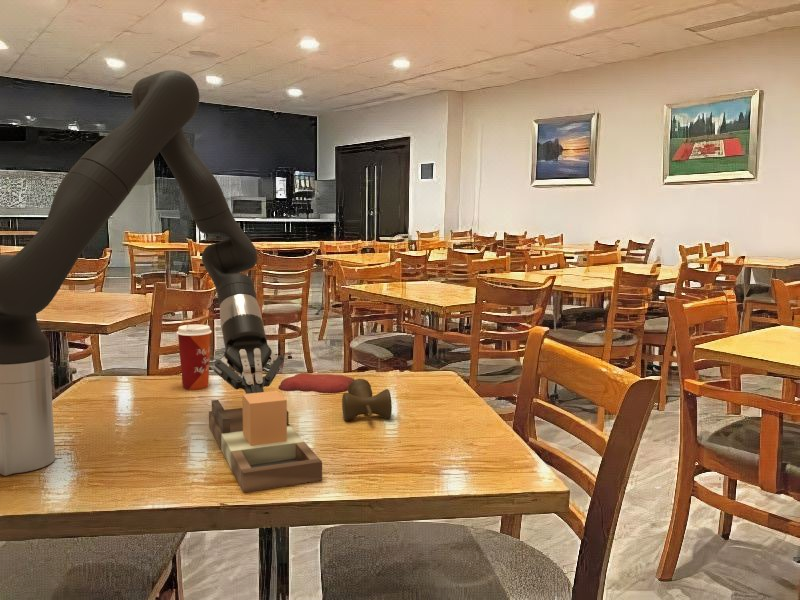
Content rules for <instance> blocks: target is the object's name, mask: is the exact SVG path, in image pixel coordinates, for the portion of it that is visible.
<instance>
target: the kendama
mask: <svg viewBox="0 0 800 600" xmlns="http://www.w3.org/2000/svg"><path fill="white" fill-rule="evenodd" d="M354 379H355V378H354ZM341 401H342V402H341V407H342V408H341V409H342V417H343V420H344V421H345V422H348V421H350V420H353V419H355V418H357V417H358V416H361V415H369V416H371V415H373V414H374V415H377V416H379V417H382V418H384V419H386V420H390V419H391V417H392V412H393V406H392V405H393V404H392V395H391V392H390V390H389V389H388V388H386V389H385V388H384V390H381V391H380V392H379V393H376V395H373V391H372V385H371V384H370V382H369V381H368V380H366V379H365V378H356V379H355V380H353V381H352V382H351V383H350V384H349V386H348V391H347V392H343V394H342V399H341Z"/></svg>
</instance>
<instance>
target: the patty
mask: <svg viewBox="0 0 800 600" xmlns="http://www.w3.org/2000/svg"><path fill="white" fill-rule="evenodd" d="M353 380H355V378H353V377H349V376H346V375H341V374H328V373H327V374H319V373H317V374H315V373H314V374H311V373H307V372H306V373H305V372H301V373H296V374H294V376H293V375H292V376H289V377H286V378H284V379H283V380H281V381H280V385H278V389H279V390H280V391H284V392H297V391H299V392H314V393H322V394H341V393H346V392H348V386H349V384H350V383H351V382H352V381H353Z"/></svg>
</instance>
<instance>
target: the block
mask: <svg viewBox="0 0 800 600" xmlns="http://www.w3.org/2000/svg"><path fill="white" fill-rule="evenodd" d="M241 395H242V408H243V435H244V437H245V438H246V440H247V441H248V443H249V444H250V446H252V445H260V444H267V443H275V442H283V441H287V411H288V409H287V408H288V402H287V399H286V398H285V397H284V396H283V395H282V394H281V393H280V392H279V391H278V390H272V391H264V392H260V393H250V394H246V393H242V394H241Z"/></svg>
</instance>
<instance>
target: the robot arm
mask: <svg viewBox="0 0 800 600" xmlns="http://www.w3.org/2000/svg"><path fill="white" fill-rule="evenodd" d="M131 102H132V106H133V109H134V112H133V113H131V115H130V116H129V117H128V118H127V119H126V120H125V121H124V122H123V123H121V124H120V125H119V126H118V127H116V128H115V129H114V130H112V131H111V132H110V133H108V134H107V135H105V136H104V137H103V138H101V139H100V140H99V141H98V142H96V143H95V144H94V145H93V146H91V147H90V148H89V149H88V150H87V151H86V152H85V153H84V154H82V156H80V158H79V159H78V160H77V162H75V164H74V165H73V166H72V167H71V169H70V170H69V171H68V172H67V173H66V174H65V175H64V177H63V179H62V180H60V181H61V182H60V183H59V184H58V186H57V189H56V190H55V191H56V192H55V193H54V197H53V200H52V202H51V207H50V210H49V212H48V215H47V217H46V219H45V221H44V223H43V224H42V226H41V227H40V229H39V230H38V231H37V232H36V233H35V234H34V235H33V237H32V238H31V239H30V240H29V241H28V242H27V243H26V244H25V245H24V246H23V247H22V248H21V249H20V250H19V252H17V253H16V254H15V255H12V254H0V475H2V476H10V475H12V474H13V475H14V474H19V473H26V472H32V471H36V470H38V469H42V468H44V467H47V466H49V465H50V464H53V462H54V461H55V459H56V451H55V450H56V449H55V448H56V445H55V431H54V430H55V428H54V410H53V409H54V407H53V393H52V392H53V391H52V373H51V372H52V371H51V370H52V369H51V351H50V341H49V339H48V337H47V336H46V335H45V334H44V332H43V331H42V329H41V328H40V326H39V322H38V319H37V318H38V317H37V314H39V313H40V312H42V311H43V310H45V309H46V308H47V307H48V306H49V305H50V303H51V302H52V301H53V299H54V297H55V296H56V295H57V293H58V292H59V290H60V288H61V287H62V285H63V284H64V282H65V280H66V278H67V277H68V275H69V274H70V272H71V270H72V269H73V267H74V265H75V264H76V263H77V261H78V259H79V257H80V256H81V255H82V253H83V252H84V251H85V249H87V247H88V246H89V245H90V243H91V242H92V241H93V239H94V238H95V237H96V236H97V234H98V233H99V232H100V231H101V229H102V228H103V227H104V226H105V224H107V222H108V221H109V220H110V218H111V217H112V216H113V215H114V213H116V211H117V210H118V208H119V207H120V206H121V205H122V204H123V202H124V201H125V200H126V199H127V197H128V196H129V195H130V193H131V192H132V190H133V189H134V187H135V186H136V184H137V183H138V182H139V181H140V179H141V178H142V176H143V175H144V174H145V172H146V171H148V169H149V167H150V166H151V165H152V163H153V162H154V160H155V159H156V157H158V155H159V153H160V154H161V156H162V158H163V160H164V161H165V164H166V165H167V166H168V168H169V171H171V173H172V175H173V177H174V179H175V181H176V183H177V184H178V186H179V189H180V190H181V192H182V195H183V197H184V200H185V202H186V205H187V206H188V209H189V212H190V213H191V216H192V219H193V220H194V223H195V225H196V227H197V229H198V231H199V232H200V233H202V234H204V235H206V234H207V235H208V234H224V235H225V236H227V237H228V238H226V239H224V240H221V241H218V242H214V243H212V244H210V245H207V246H206V247H205V248H204V250H203V251H202V255H201V261H202V262H201V263H202V264H203V267H204V269H205V270H206V272H207V273H208V276H209V277H210V278H211V279H210V280H211V281H212V282H213V285H214V287H215V291H216V295H217V300H218V305H219V319H220V325H219V326H220V329H221V332H222V333H221V334H222V339H223V344H224V352H223V357H222V358H221V359H218V358H217V359H216V360H215V361H214V365H213V372H214V373H216V374H217V376H219V377H220V378H222V379H223V380H224V381H225V382H226V383H227V384H228V385H230V386H231V387H232V388H234V389H235V390H239V389H240V390H243V391H244V392H245V394H250V393H260V392H265V391H264V388H267V387H270V385H271V384H272V382H273V381H274V380H275V378H276V376H277V375H278V373H279V372H280V370H281V369H282V367H283V365H284V362H285V359H286V358H285V356H284V355H283V354H279V355H277V354H274V353H273V351H272V348H271V347H270V346H269V344H268V340H267V336H266V332H265V326H264V321H263V320H264V319H263V317H262V312H261V309H260V306H259V303H258V299H257V294H256V290H255V285H254V282H253V279H252V278H251V277H250V276H249V275H248V274H245V273H243V272H245V271H249V270H252V269H253V268H254V267H255V266H256V265H257V262H258V259H259V257H258V252H257V248H256V246H255V245H254V243H253V242H252V240H251V239H250V238H249V237H248V236H247V234H246V232H244V230H243V229H242V228H241V226H240V225H239V223H238V222H237V221H236V219H235V217H234V215H233V214H232V213H233V212H231V208H230V207H229V205H228V202H227V199H226V197H225V195H224V192H223V189H222V187H221V185H220V184H219V181H218V180H217V179H216V177H215V175H214V174H213V173H212V171H211V170H210V169H209V167H207V166H206V164H205V163H204V162H203V161H202V159H201V158H200V157H199V156H198V154H197V153H196V152H195V149H193V147H192V146H191V144H190V142H189V141H188V138H187V136H186V134H185V131H184V129H183V127H185V126H186V125H187V123H189V122H190V121H191V120H192V119H193V117H194V116H195V114H196V112H197V111H198V108H199V104H200V91H199V87H198V85H197V82H196V81H195V80H194V79H193V78H192V76H190V75H189V74H188V73H186V72H183V71H180V70H175V69H174V70H171V69H170V70H163V71H159V72H156V73H153V74H150V75H148V76H145V77H142V78H140V80H138V81H137V82H136V83H135V84H134V86H133V88H132V91H131ZM269 360H270V363H269V366H270V367H269V369H268V371H267V372H266V374H265V376H263V370H264V368H265V367H266V366H267V364H268V362H269Z"/></svg>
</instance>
